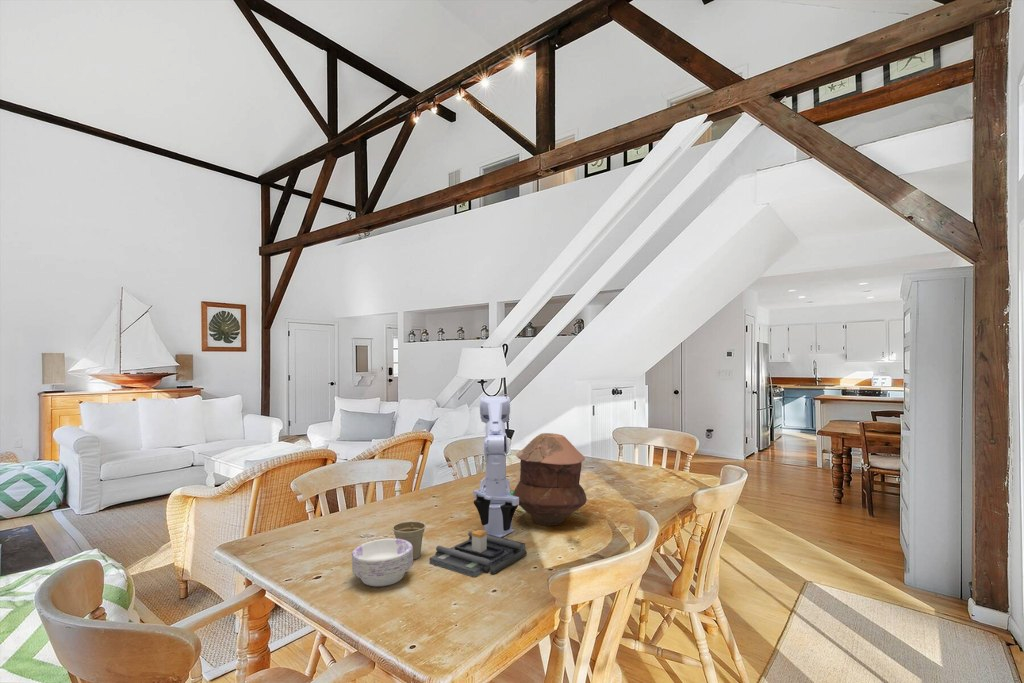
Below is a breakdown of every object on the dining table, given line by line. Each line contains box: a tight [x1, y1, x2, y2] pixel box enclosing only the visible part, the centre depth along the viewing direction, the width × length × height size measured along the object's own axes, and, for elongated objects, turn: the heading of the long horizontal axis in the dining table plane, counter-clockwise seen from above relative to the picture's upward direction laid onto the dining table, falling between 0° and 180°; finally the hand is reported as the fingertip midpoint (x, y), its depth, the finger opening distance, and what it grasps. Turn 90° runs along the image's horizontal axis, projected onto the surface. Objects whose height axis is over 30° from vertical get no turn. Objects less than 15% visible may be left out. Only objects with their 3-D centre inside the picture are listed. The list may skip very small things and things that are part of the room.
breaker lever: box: [471, 529, 487, 553], centre depth 145 cm, size 3×3×5 cm
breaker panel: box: [429, 534, 527, 578], centre depth 145 cm, size 24×16×2 cm, turn 145°
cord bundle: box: [434, 545, 527, 575], centre depth 144 cm, size 16×21×3 cm
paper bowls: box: [351, 538, 414, 588], centre depth 130 cm, size 15×15×8 cm
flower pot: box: [391, 520, 427, 560], centre depth 145 cm, size 9×9×9 cm
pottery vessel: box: [512, 432, 588, 527], centre depth 176 cm, size 26×26×30 cm
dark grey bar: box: [467, 531, 521, 554], centre depth 152 cm, size 2×19×3 cm, turn 55°
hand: (495, 527), depth 141 cm, fingers open, 7 cm apart
